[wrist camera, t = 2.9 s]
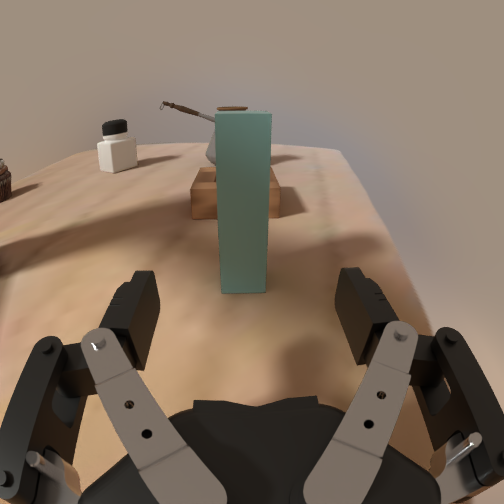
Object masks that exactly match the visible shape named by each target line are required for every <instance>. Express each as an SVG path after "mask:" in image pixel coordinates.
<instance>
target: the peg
mask: <svg viewBox="0 0 504 504" xmlns="http://www.w3.org/2000/svg"><path fill="white" fill-rule="evenodd" d="M271 118H272V114H271V113H269V112H267V111H218V112H217V113H216V114H215V152H216V187H217V214H218V237H219V257H220V275H221V292H222V293H265V291H266V269H267V245H268V219H269V191H270V160H271V122H272V121H271V120H272V119H271Z"/></svg>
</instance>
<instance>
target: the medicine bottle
mask: <svg viewBox="0 0 504 504" xmlns="http://www.w3.org/2000/svg"><path fill="white" fill-rule="evenodd" d="M102 130H103V139H105V141H103V142H100V143H98V144H97V147H98V156H99V164H100V170H101V171H104V172H109V173H117V172H120V171H123V170H126V169H129V168H133V167H136V166H138V162H137V152H136V140H135V138H133V137H127V136H126V135H127V134H128V133H127V121H126V120H123V119H119V120H113V121H108V122H105V123H104V124H103V125H102Z"/></svg>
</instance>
